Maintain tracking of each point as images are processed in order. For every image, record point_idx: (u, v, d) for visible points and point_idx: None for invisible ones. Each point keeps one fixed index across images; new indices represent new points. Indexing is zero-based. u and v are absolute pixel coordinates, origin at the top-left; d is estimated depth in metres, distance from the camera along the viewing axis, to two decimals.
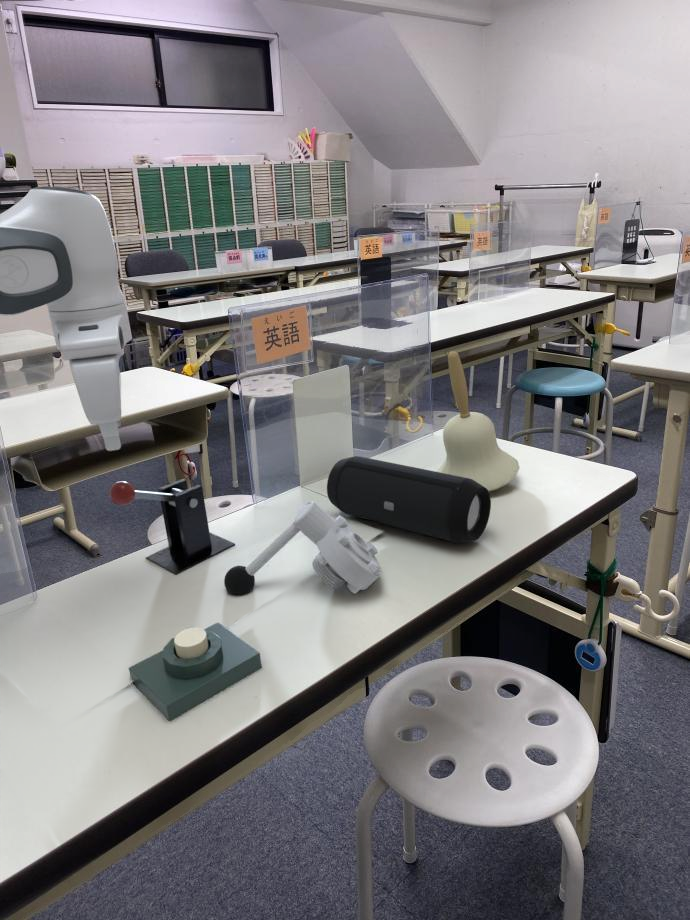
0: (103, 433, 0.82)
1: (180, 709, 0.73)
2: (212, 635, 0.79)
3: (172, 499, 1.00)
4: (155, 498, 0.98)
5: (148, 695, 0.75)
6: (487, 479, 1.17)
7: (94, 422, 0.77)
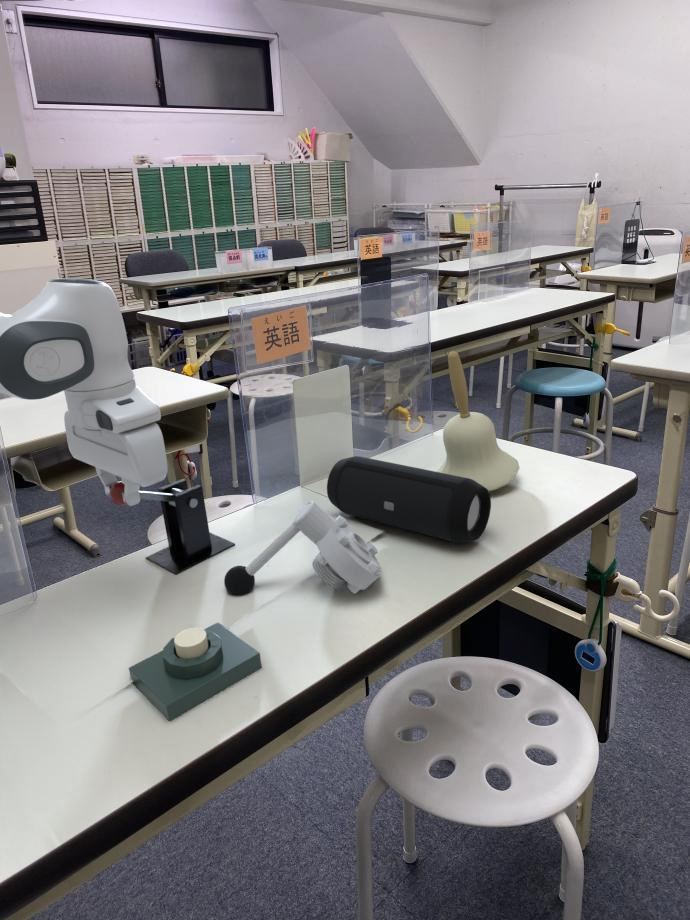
0: (128, 490, 0.91)
1: (180, 709, 0.73)
2: (212, 635, 0.79)
3: (172, 499, 1.00)
4: (155, 498, 0.98)
5: (148, 695, 0.75)
6: (487, 479, 1.17)
7: (148, 484, 0.86)
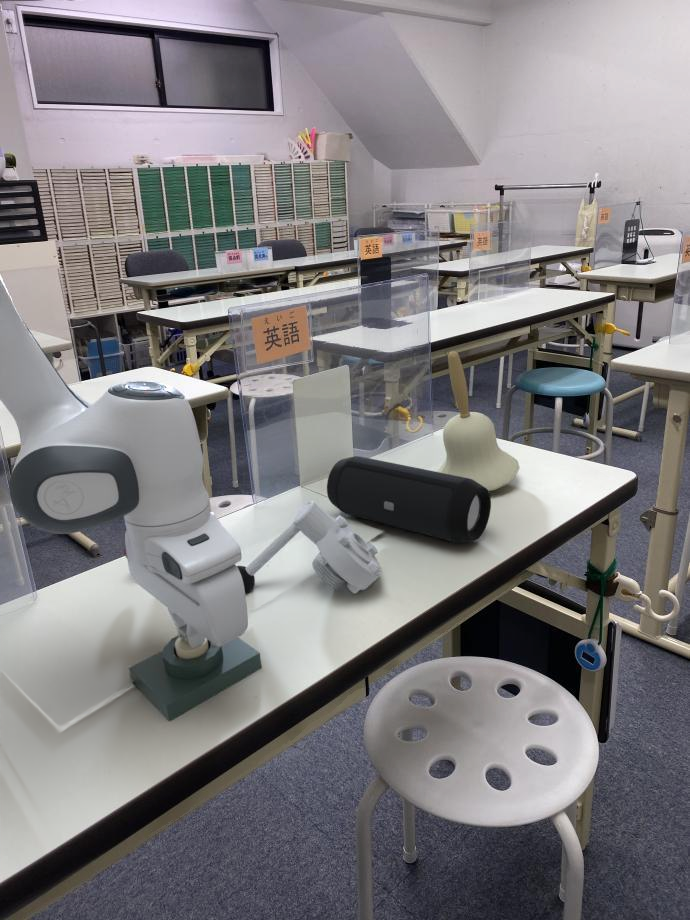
0: (191, 632, 0.75)
1: (180, 709, 0.73)
2: None
3: None
4: None
5: (148, 695, 0.75)
6: (487, 479, 1.17)
7: (223, 644, 0.68)
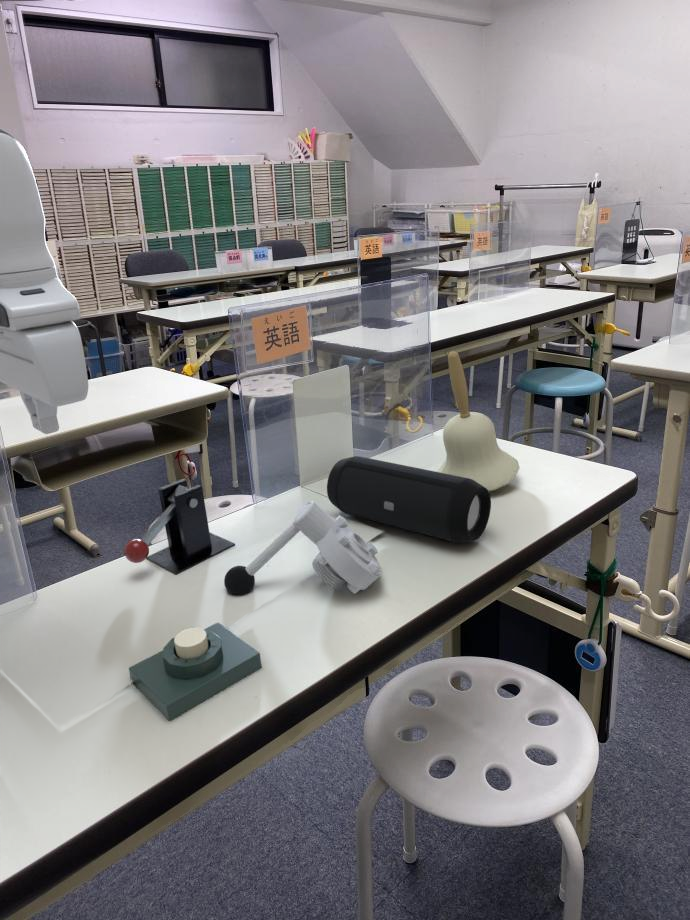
0: (41, 413, 0.71)
1: (180, 709, 0.73)
2: (212, 635, 0.79)
3: (175, 510, 1.01)
4: (163, 525, 1.00)
5: (148, 695, 0.75)
6: (487, 479, 1.17)
7: (59, 403, 0.64)
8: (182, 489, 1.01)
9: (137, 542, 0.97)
